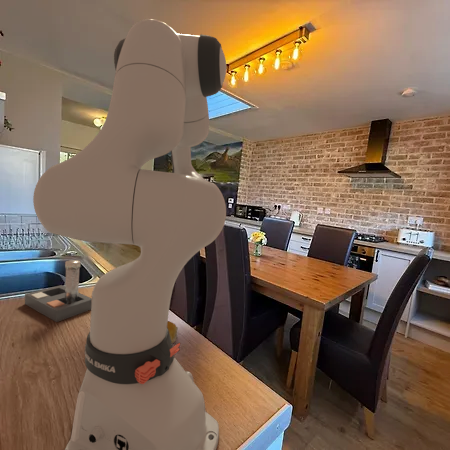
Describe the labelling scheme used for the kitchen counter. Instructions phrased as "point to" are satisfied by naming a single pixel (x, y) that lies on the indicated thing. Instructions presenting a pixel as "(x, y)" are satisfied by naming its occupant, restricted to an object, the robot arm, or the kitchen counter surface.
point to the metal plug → (72, 281)
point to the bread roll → (172, 331)
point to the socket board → (56, 303)
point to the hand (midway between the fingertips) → (126, 213)
